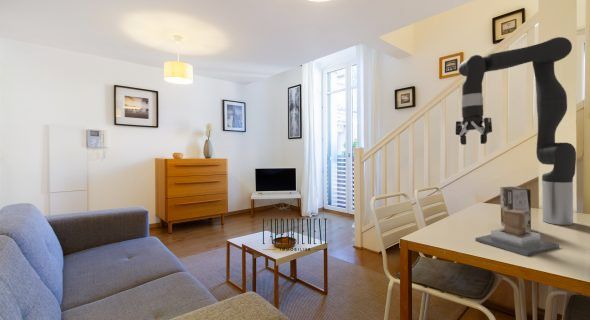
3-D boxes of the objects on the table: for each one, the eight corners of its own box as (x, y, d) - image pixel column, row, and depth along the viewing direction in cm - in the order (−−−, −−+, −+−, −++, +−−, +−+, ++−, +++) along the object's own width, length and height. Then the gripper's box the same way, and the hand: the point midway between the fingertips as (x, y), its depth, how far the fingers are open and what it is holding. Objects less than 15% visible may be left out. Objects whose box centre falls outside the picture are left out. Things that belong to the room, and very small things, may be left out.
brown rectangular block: (512, 238, 95) (511, 209, 95) (525, 241, 91) (525, 211, 91) (504, 240, 94) (504, 211, 93) (518, 243, 90) (517, 213, 89)
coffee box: (532, 231, 104) (531, 189, 104) (512, 231, 106) (512, 189, 105) (517, 225, 113) (517, 186, 113) (500, 224, 115) (499, 186, 114)
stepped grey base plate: (505, 234, 103) (505, 223, 103) (558, 247, 88) (558, 235, 88) (475, 240, 97) (475, 229, 97) (527, 256, 82) (527, 243, 82)
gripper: (496, 102, 110) (496, 143, 110) (463, 108, 123) (463, 144, 124) (483, 102, 107) (483, 143, 108) (450, 108, 121) (451, 145, 121)
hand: (473, 144), depth 116 cm, fingers open, 8 cm apart
